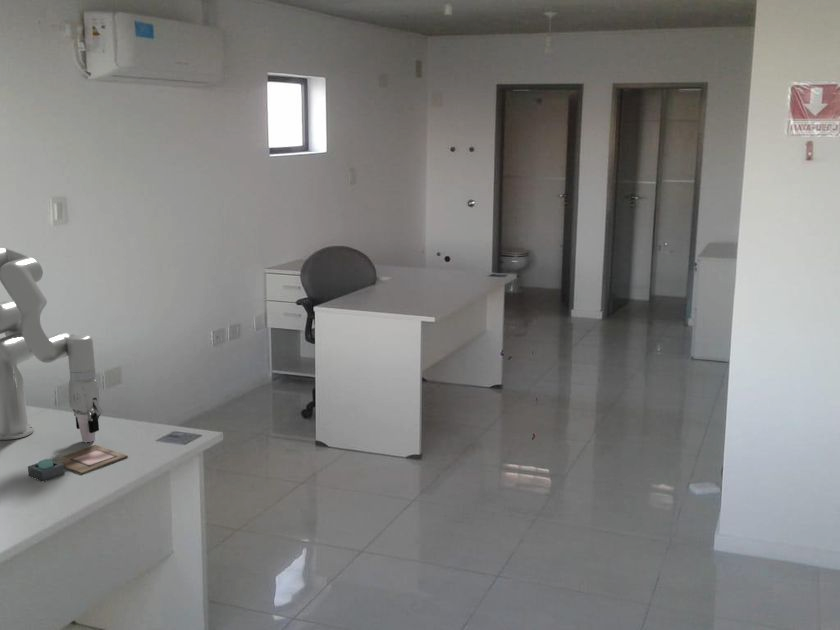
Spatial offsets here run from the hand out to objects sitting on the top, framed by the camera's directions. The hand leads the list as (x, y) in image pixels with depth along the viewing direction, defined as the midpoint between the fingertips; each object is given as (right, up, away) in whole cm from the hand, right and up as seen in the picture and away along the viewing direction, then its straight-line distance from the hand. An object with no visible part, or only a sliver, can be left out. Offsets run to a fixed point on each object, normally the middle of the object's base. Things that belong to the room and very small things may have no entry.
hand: (87, 429), depth 294 cm
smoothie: (0, -4, +1) cm, 4 cm away
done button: (-3, -10, -26) cm, 28 cm away
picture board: (+6, -7, -15) cm, 18 cm away
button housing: (-3, -10, -26) cm, 28 cm away
